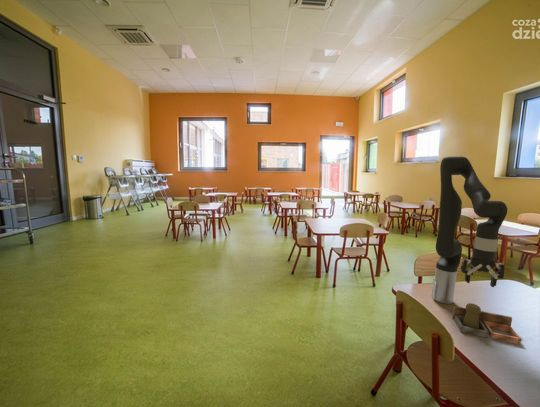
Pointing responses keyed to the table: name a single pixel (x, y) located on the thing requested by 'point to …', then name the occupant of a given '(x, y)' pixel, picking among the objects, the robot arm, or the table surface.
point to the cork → (472, 316)
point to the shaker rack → (488, 325)
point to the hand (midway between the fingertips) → (479, 284)
